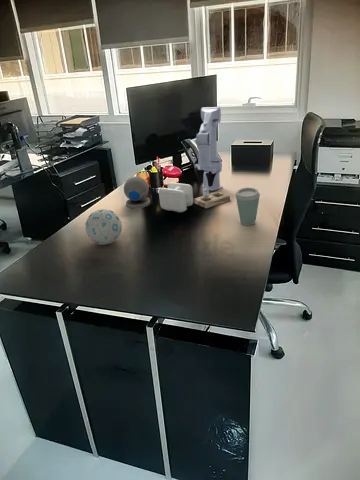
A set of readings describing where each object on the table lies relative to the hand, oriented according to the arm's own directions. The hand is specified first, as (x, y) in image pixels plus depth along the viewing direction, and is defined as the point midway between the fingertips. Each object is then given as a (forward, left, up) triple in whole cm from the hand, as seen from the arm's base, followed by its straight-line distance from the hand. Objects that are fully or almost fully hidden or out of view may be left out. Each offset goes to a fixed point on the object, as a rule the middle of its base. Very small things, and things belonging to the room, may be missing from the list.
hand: (205, 184), depth 182 cm
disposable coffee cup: (+31, -1, -11) cm, 33 cm away
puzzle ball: (+4, -58, -11) cm, 59 cm away
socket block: (0, +4, -10) cm, 11 cm away
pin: (0, 0, -10) cm, 10 cm away
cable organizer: (-6, -14, -11) cm, 19 cm away
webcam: (-26, -26, -11) cm, 38 cm away
